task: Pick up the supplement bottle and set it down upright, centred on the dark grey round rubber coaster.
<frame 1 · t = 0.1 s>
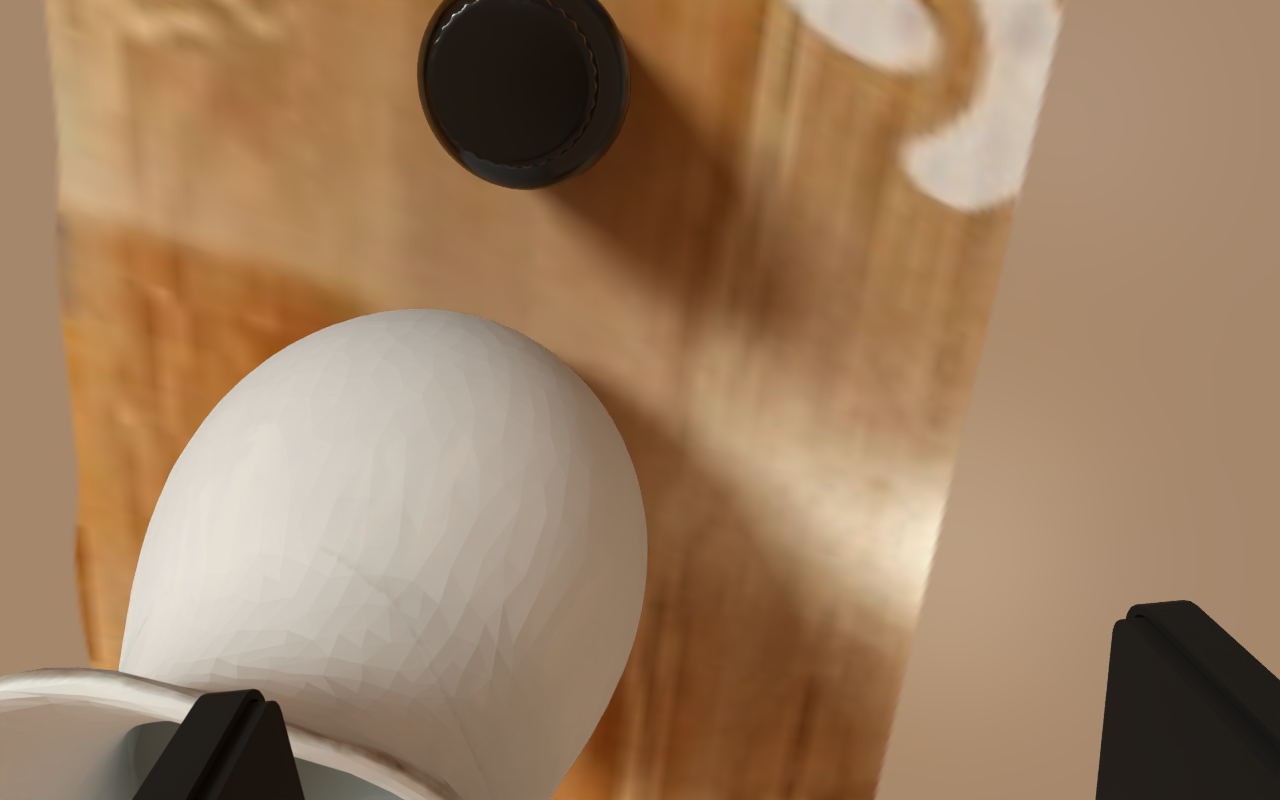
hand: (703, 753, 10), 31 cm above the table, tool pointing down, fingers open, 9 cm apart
pitcher: (485, 512, 44), on the table
supplement bottle: (542, 79, 37), on the table
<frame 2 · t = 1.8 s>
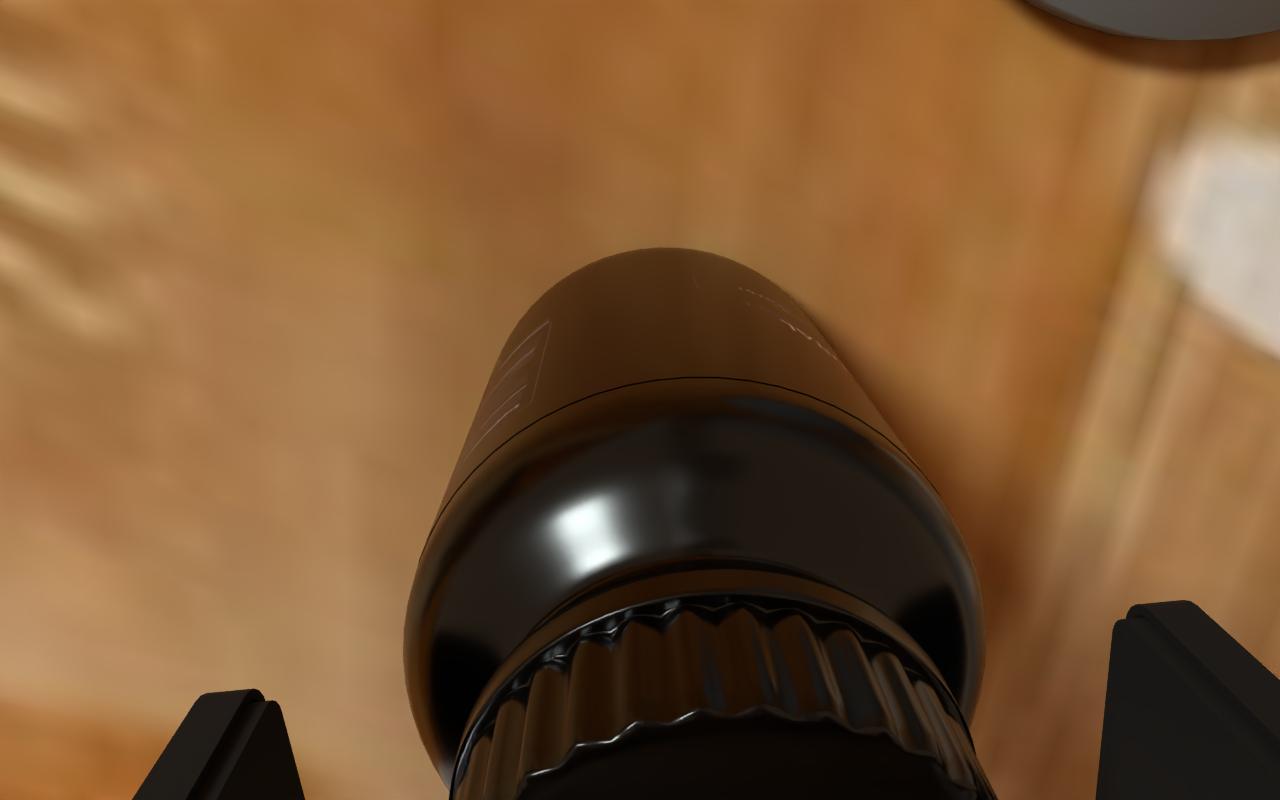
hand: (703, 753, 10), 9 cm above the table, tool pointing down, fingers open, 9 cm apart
supplement bottle: (658, 402, 19), on the table
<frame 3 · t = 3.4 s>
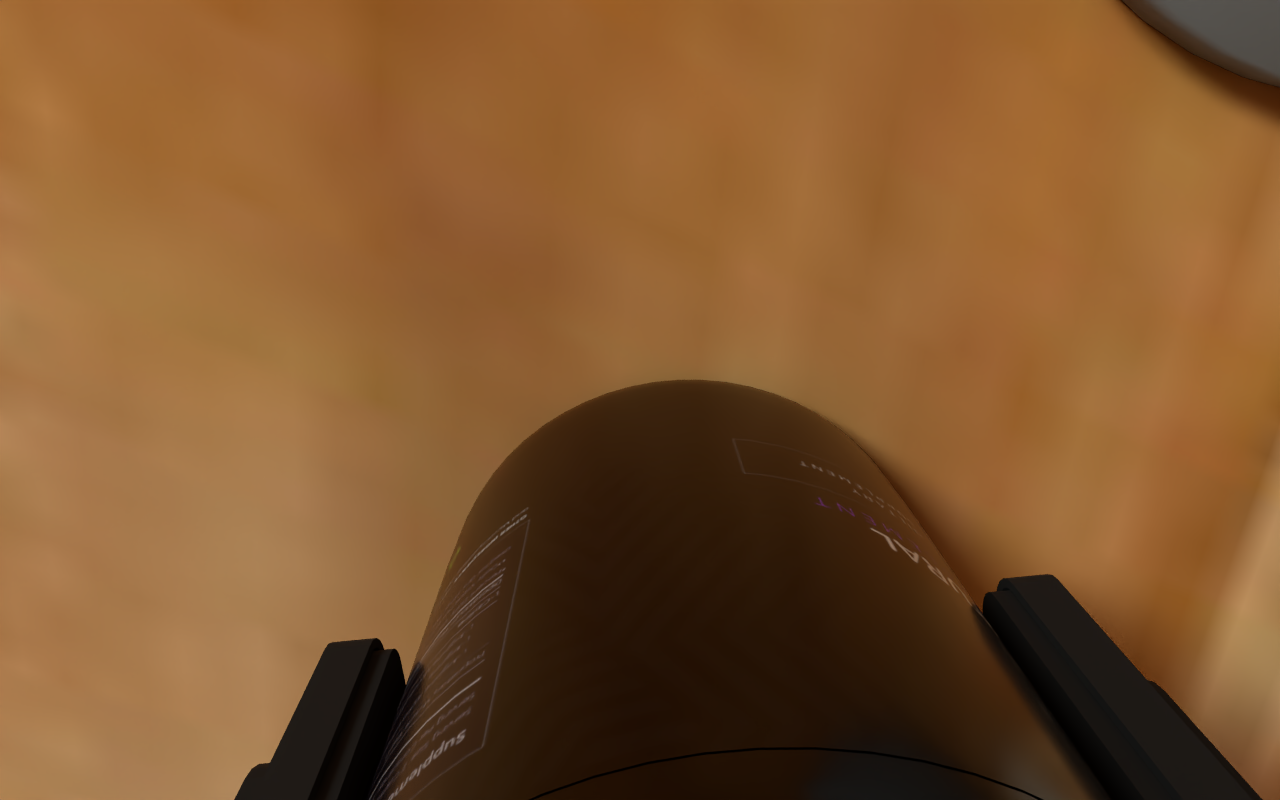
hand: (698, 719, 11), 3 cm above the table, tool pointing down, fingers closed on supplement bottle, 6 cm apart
supplement bottle: (677, 570, 14), on the table, touching gripper
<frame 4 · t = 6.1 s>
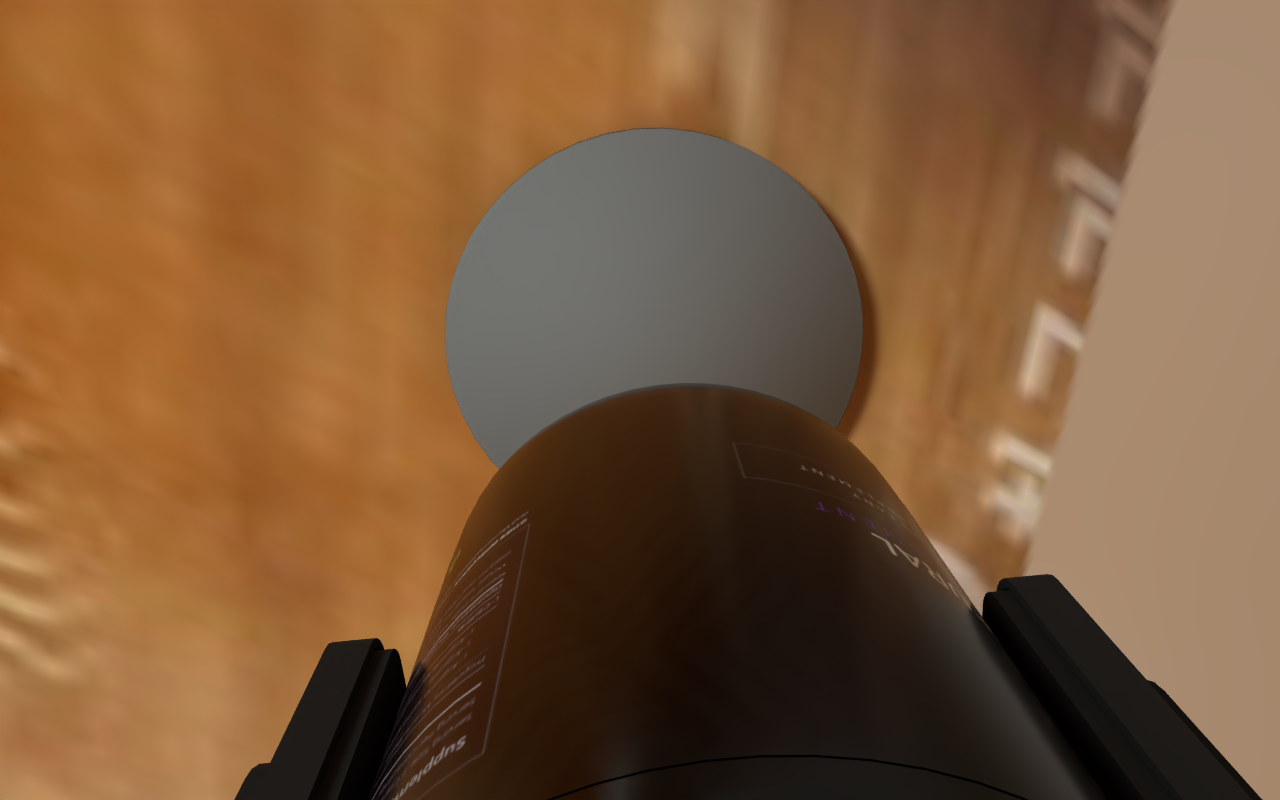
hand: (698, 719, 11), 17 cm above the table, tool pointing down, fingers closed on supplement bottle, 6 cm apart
coaster: (654, 339, 27), on the table
supplement bottle: (677, 573, 14), point 14 cm above the table, touching gripper
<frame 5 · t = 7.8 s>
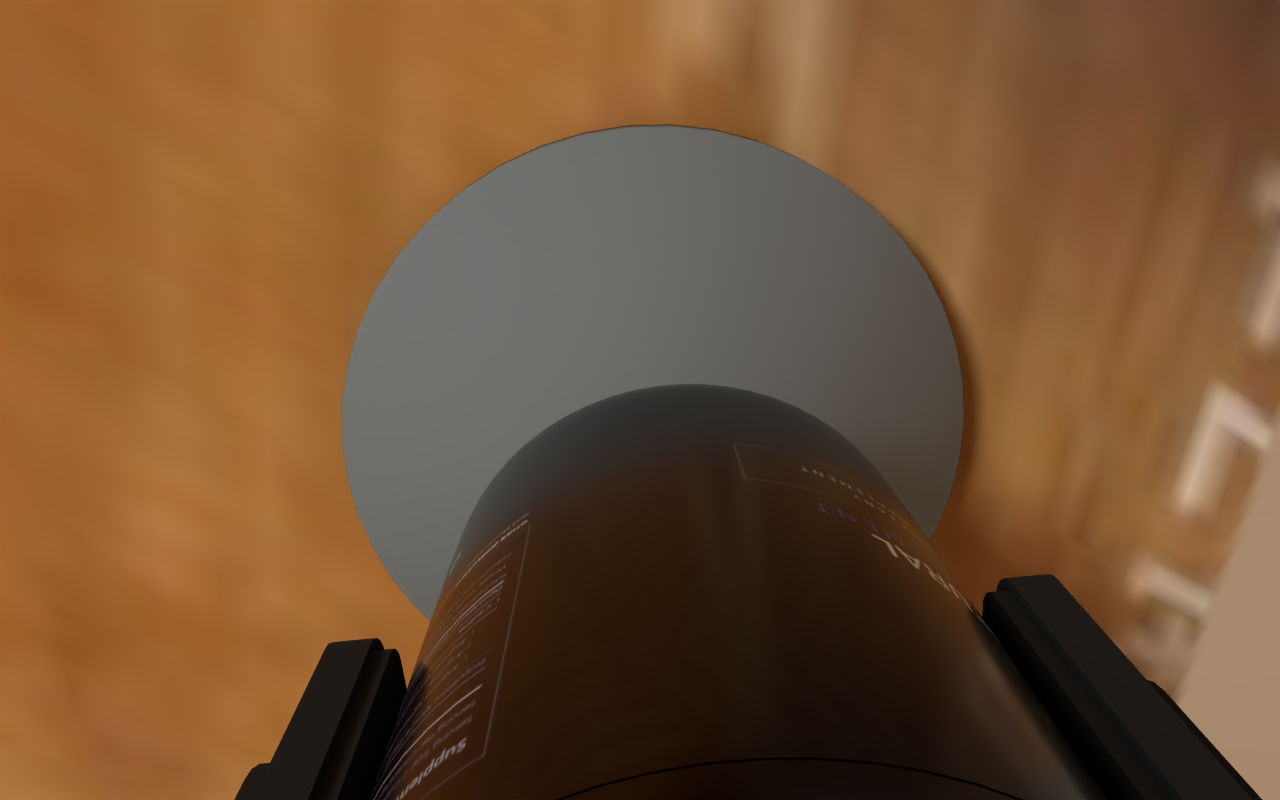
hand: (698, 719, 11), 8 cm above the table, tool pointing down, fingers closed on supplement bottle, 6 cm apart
coaster: (654, 433, 19), on the table
supplement bottle: (678, 574, 14), point 5 cm above the table, touching gripper
when the fingers open (5 cm above the table, at t = 9.4 s): supplement bottle drops 1 cm, resting on coaster.
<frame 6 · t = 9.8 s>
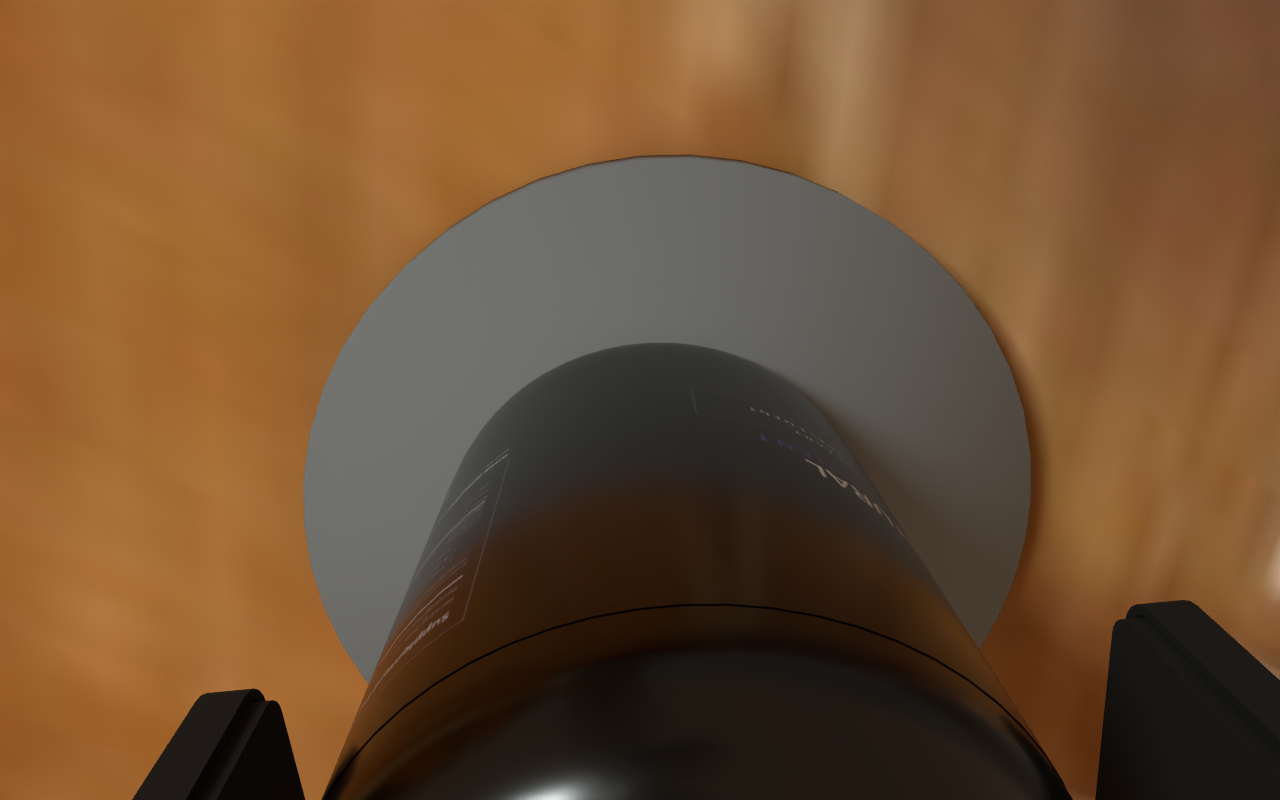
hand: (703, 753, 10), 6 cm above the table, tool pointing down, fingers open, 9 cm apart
coaster: (668, 509, 16), on the table
supplement bottle: (652, 520, 15), point 1 cm above the table, touching coaster
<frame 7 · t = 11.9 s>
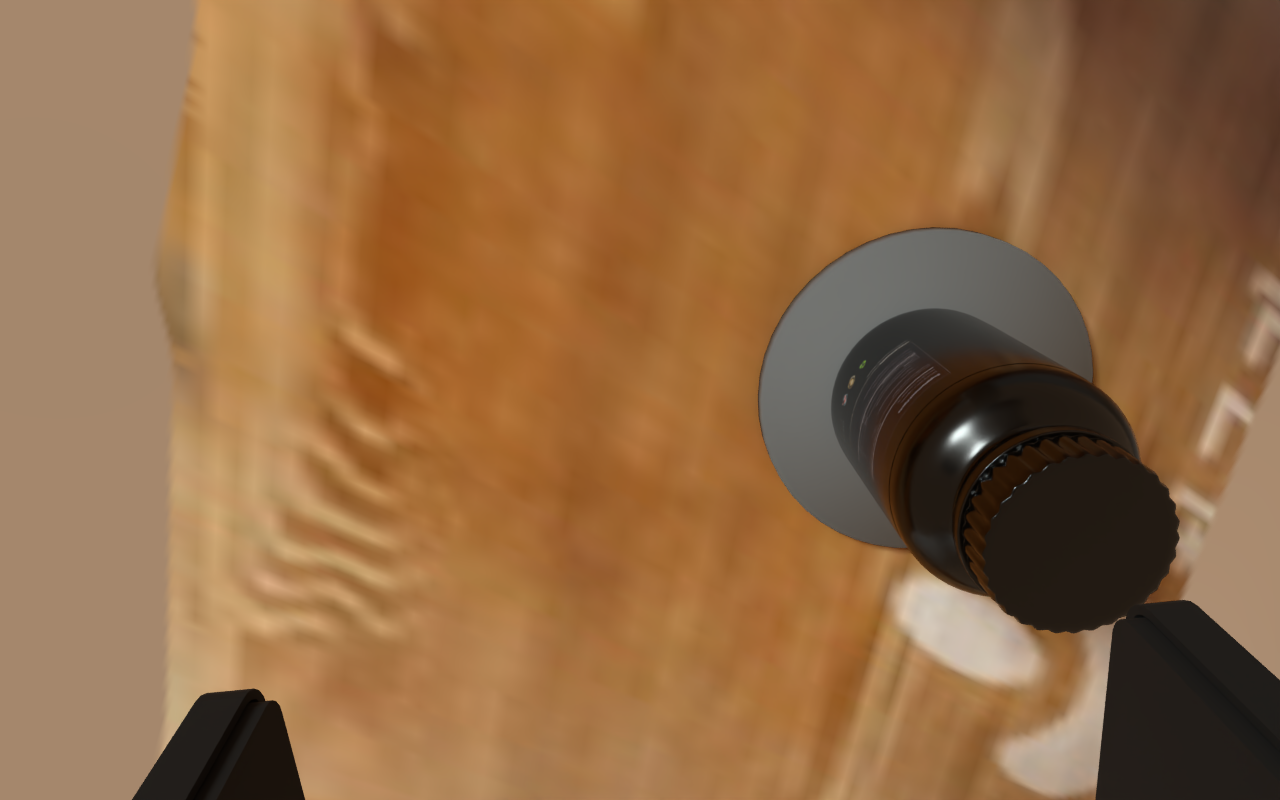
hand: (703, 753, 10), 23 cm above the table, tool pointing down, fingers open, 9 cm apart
coaster: (920, 391, 34), on the table
supplement bottle: (917, 393, 33), point 1 cm above the table, touching coaster
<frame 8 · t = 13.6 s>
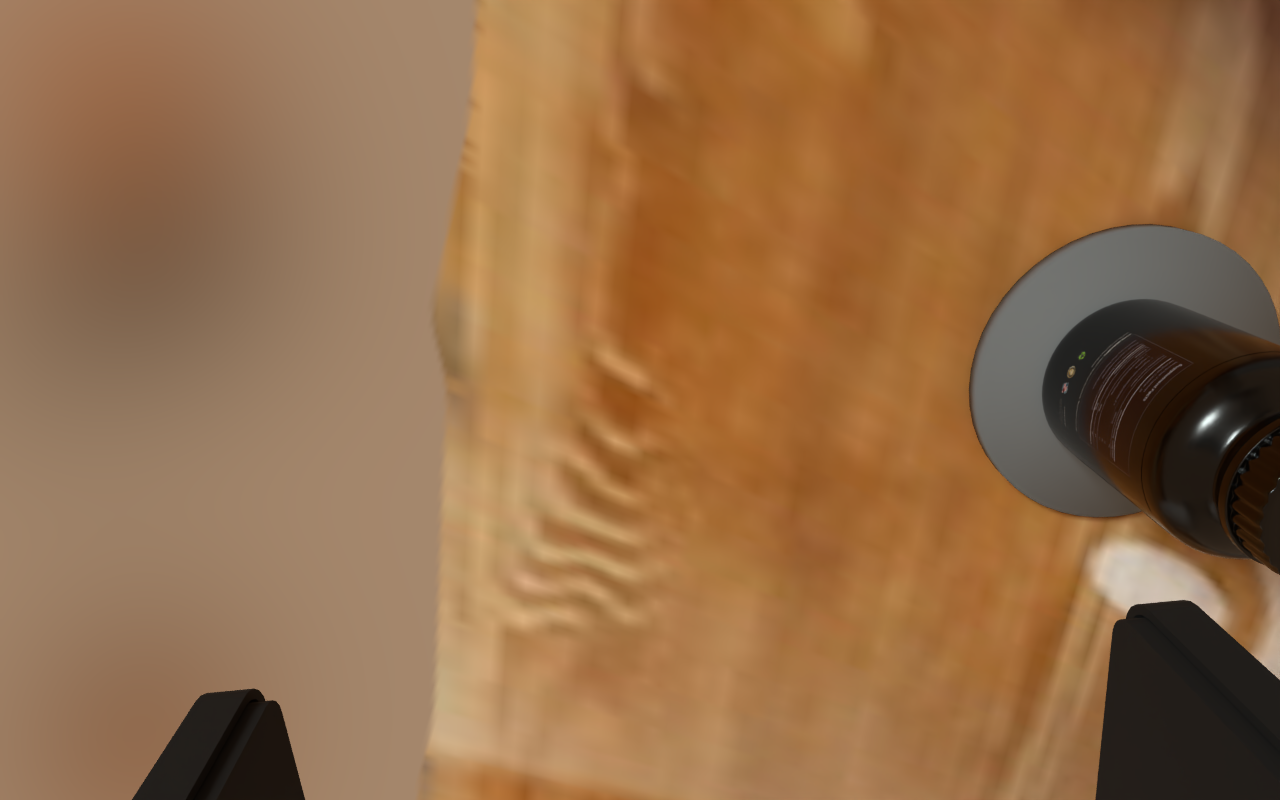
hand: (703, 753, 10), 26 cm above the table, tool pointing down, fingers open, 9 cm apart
coaster: (1117, 374, 37), on the table
supplement bottle: (1117, 376, 37), point 1 cm above the table, touching coaster
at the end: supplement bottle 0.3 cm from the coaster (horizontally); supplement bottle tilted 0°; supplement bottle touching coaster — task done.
